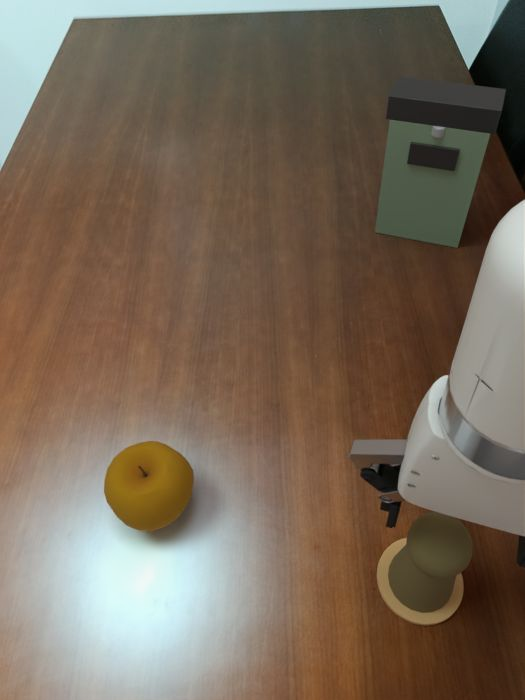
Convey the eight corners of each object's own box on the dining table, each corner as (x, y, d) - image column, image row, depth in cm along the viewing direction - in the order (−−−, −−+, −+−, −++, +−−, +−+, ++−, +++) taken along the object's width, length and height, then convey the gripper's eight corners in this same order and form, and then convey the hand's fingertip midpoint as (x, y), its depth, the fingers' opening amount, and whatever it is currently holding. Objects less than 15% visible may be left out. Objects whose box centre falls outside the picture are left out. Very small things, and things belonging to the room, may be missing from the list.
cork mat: (467, 553, 57) (469, 551, 56) (455, 638, 52) (457, 637, 52) (386, 528, 59) (386, 526, 58) (367, 608, 54) (368, 606, 54)
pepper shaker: (459, 562, 56) (489, 517, 47) (444, 624, 52) (473, 588, 44) (398, 537, 57) (416, 489, 49) (379, 595, 54) (395, 556, 45)
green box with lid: (465, 226, 86) (506, 88, 69) (460, 251, 83) (501, 112, 66) (378, 211, 89) (397, 75, 72) (370, 234, 86) (387, 98, 69)
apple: (203, 468, 64) (192, 427, 57) (195, 546, 58) (181, 511, 51) (126, 467, 64) (106, 426, 57) (111, 544, 59) (86, 509, 52)
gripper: (692, 390, 31) (579, 516, 44) (371, 324, 36) (357, 456, 49) (705, 520, 27) (577, 616, 40) (340, 426, 31) (334, 540, 45)
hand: (456, 528), depth 45 cm, fingers open, 9 cm apart
